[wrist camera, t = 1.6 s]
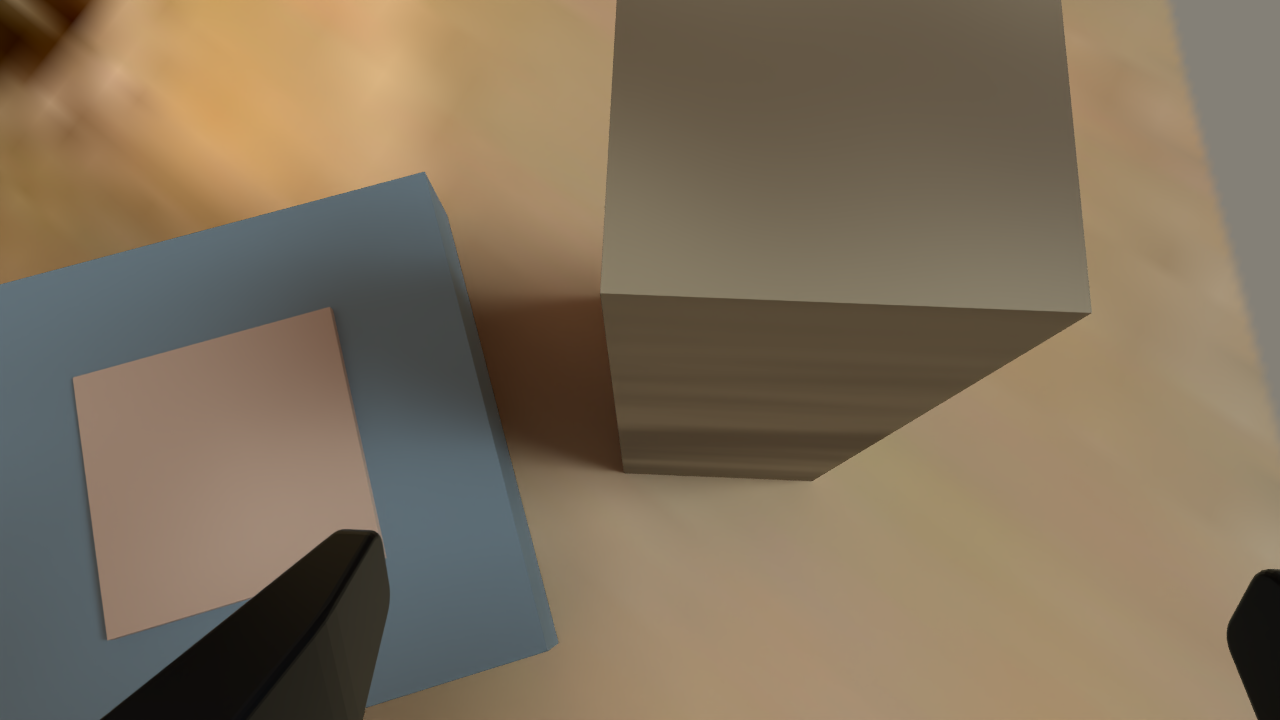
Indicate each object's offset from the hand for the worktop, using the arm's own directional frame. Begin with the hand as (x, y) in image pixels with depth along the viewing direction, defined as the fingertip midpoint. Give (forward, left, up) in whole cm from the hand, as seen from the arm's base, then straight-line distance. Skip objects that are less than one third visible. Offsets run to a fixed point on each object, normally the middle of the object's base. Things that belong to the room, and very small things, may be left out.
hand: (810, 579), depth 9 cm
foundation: (+9, +5, -11) cm, 16 cm away
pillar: (+3, -4, -11) cm, 12 cm away
